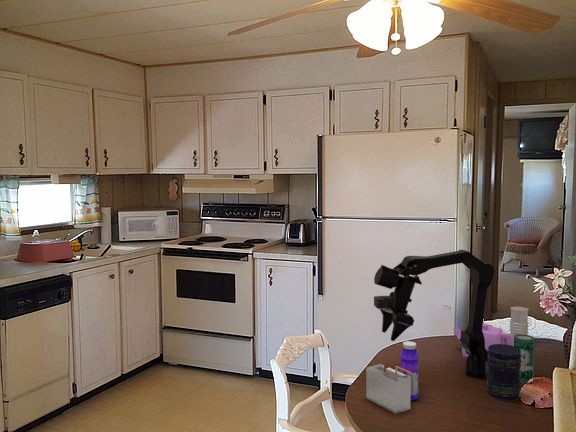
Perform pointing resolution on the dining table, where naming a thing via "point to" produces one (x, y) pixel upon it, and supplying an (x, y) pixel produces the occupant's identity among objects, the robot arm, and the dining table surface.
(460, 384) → the dining table surface
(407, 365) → the bottle
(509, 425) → the dining table surface
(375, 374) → the grey open box
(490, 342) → the teakettle
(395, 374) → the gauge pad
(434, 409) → the dining table surface
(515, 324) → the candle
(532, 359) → the can
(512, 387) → the storage jar
